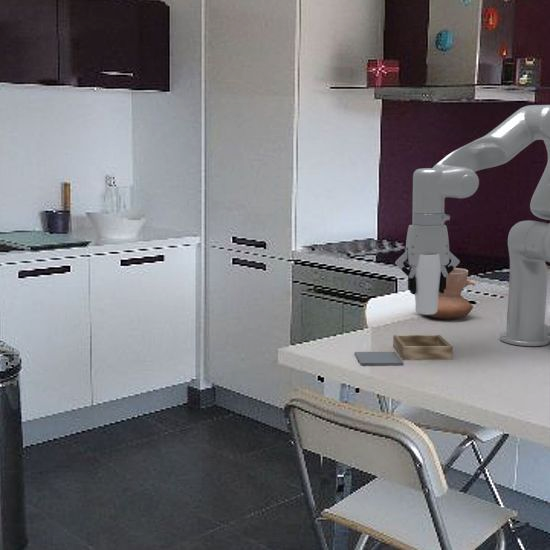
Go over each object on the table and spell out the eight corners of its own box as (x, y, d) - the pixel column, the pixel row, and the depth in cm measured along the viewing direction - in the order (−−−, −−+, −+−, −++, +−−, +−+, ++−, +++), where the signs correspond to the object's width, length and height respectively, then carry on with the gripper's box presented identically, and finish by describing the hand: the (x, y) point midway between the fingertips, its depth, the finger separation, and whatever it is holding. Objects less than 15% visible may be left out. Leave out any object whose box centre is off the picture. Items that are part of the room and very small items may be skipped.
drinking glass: (440, 316, 204) (441, 255, 201) (411, 315, 206) (412, 254, 203) (440, 310, 211) (441, 250, 208) (413, 309, 212) (413, 250, 209)
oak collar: (439, 346, 216) (440, 334, 215) (452, 359, 204) (452, 347, 204) (393, 346, 215) (393, 335, 214) (403, 359, 203) (403, 347, 203)
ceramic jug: (475, 313, 254) (477, 267, 252) (473, 323, 241) (475, 274, 238) (415, 310, 259) (416, 265, 257) (410, 320, 245) (411, 272, 243)
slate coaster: (394, 353, 208) (394, 351, 208) (403, 365, 198) (403, 362, 198) (354, 354, 207) (354, 351, 207) (361, 365, 198) (361, 363, 197)
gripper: (459, 217, 208) (457, 288, 211) (389, 219, 207) (388, 290, 210) (468, 221, 201) (466, 294, 204) (395, 222, 200) (395, 297, 203)
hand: (426, 292), depth 207 cm, fingers closed on drinking glass, 6 cm apart
